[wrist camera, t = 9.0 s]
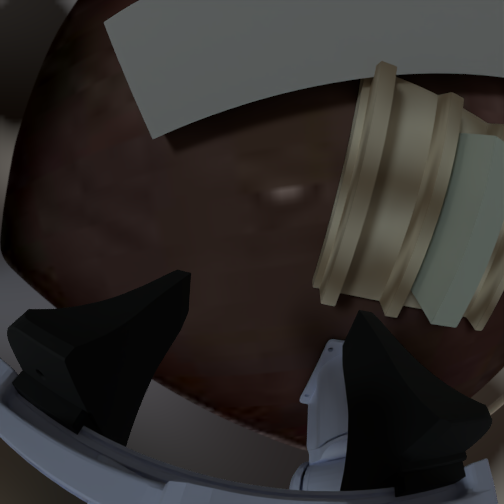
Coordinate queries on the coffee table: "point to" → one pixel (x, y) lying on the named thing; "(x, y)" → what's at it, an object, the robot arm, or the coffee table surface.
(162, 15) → the grey rectangular block
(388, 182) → the ribbed tan slab
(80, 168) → the coffee table surface
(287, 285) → the coffee table surface
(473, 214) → the clay strip
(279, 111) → the coffee table surface
